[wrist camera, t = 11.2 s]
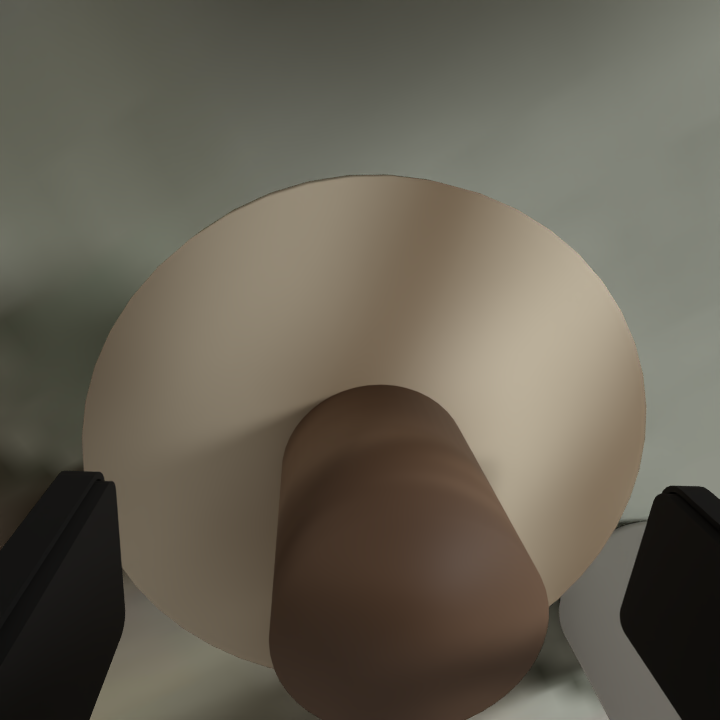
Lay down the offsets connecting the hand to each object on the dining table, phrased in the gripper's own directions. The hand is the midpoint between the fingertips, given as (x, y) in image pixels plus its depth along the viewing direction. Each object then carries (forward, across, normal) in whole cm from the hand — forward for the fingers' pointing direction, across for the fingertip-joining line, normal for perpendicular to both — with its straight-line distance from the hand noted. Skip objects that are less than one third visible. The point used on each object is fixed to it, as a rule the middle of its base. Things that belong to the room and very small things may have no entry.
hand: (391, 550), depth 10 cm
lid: (+4, 0, 0) cm, 4 cm away
